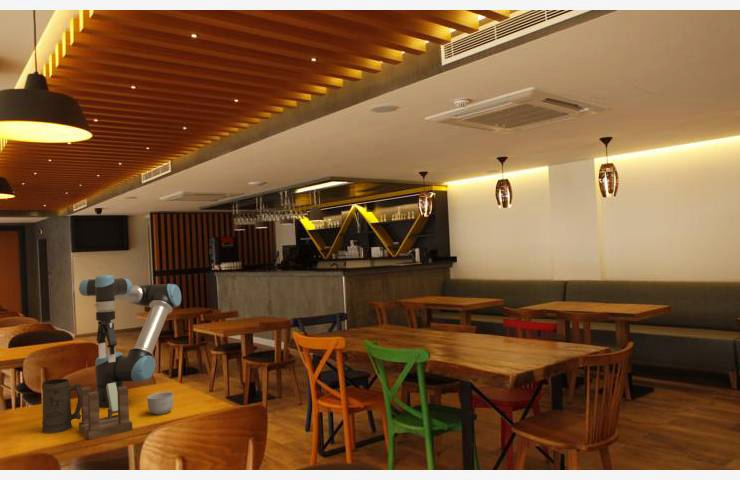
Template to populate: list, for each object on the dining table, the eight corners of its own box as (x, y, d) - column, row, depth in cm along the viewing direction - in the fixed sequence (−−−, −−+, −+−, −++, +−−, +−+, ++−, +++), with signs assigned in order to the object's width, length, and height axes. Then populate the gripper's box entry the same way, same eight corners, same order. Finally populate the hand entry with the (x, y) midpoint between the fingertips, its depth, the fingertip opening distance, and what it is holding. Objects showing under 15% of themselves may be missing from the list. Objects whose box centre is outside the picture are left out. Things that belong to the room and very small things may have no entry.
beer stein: (38, 435, 228) (40, 384, 228) (41, 427, 237) (43, 378, 238) (81, 431, 234) (83, 381, 234) (83, 424, 244) (85, 376, 244)
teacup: (165, 416, 247) (164, 398, 247) (142, 416, 249) (141, 397, 249) (182, 407, 260) (181, 389, 260) (160, 407, 262) (159, 389, 262)
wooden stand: (79, 430, 232) (77, 388, 232) (121, 421, 242) (119, 380, 243) (89, 439, 220) (87, 395, 220) (133, 429, 230) (131, 387, 230)
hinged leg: (110, 414, 239) (105, 386, 244) (118, 412, 241) (113, 385, 246) (112, 411, 237) (107, 383, 241) (120, 409, 239) (115, 382, 243)
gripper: (88, 310, 257) (89, 357, 257) (105, 313, 238) (106, 365, 238) (105, 308, 262) (107, 355, 262) (124, 311, 243) (125, 362, 243)
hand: (107, 360), depth 250 cm, fingers open, 13 cm apart
